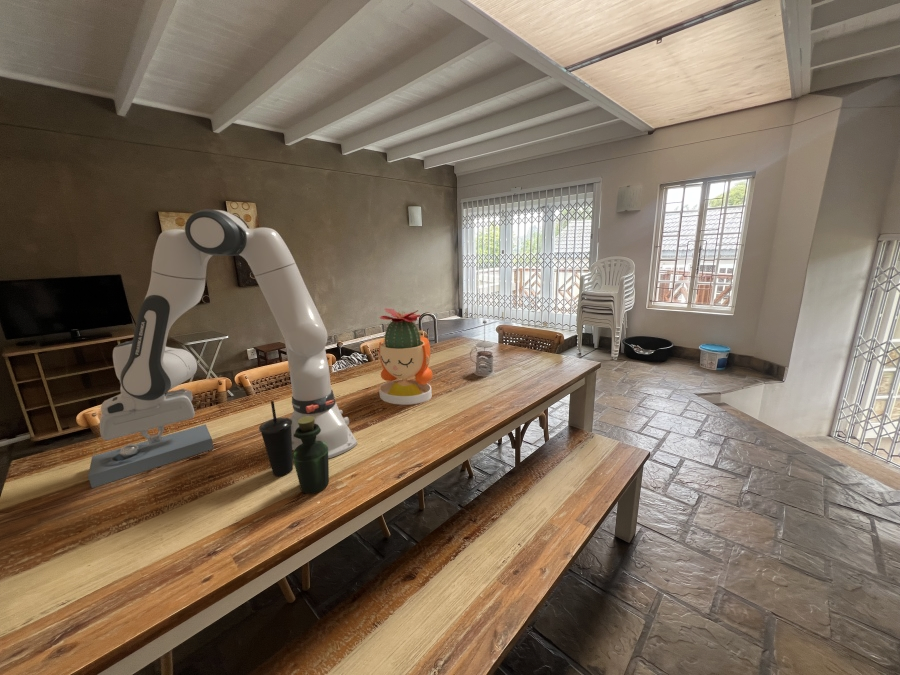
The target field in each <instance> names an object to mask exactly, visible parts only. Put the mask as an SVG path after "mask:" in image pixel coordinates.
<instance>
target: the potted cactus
mask: <svg viewBox="0 0 900 675" xmlns="http://www.w3.org/2000/svg"><path fill="white" fill-rule="evenodd" d="M383 310H384V312H386V313H387V314H390V316H388V315H381V316H379V319H381V320H387V321H389V322H388V323H387V325H386V326H385V329H384V330H383V331H384V332H383V336H384V338H382V341H380V342H379V344H378V345H379V346H378V353H377V357H378V359H379V360H380V364H381V366H382V368H383V369H381V371H380V376H381V379H382V380H384V381H386V382H385V383H382V384H381V385H379V387H378V389H379V390H378V391H379V398H380V399H381V401H384V402H385V403H389V404H393V405H403V406H406V405H418V404H422V403H426V402H428V401H430V400H431V399H432V392H433V391H432V386H431V384H429V383H430V382H431V381H432V379H433V378H434V376H433V375H434V374H433V371H432V370H431V369H430V368H429V364H430V359H431V344H430V341H429V338H427V337H425V336H422V335H421V331H419V330H420V328H419V326H417V325H416V321H418V318H420V317H422V316H421V314H416V313H417V312H419V310H415V311H413V312H409V313H404V311H402V312H398V311H397V310H395V309H392V308H384V309H383ZM413 377H414V378H415V379H410V378H413Z"/></svg>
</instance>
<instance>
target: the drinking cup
mask: <svg viewBox="0 0 900 675" xmlns="http://www.w3.org/2000/svg"><path fill="white" fill-rule="evenodd" d="M270 406H271V412H272V418H271V419H269V420H266V421H264V422H263V423H261V424H260V425H259V428H258V430H259V432H260V433H261V436H262V440H263V443H264V447H265V451H266V454H267V458H268V460H269V464H270V468H271V470H272V472H271V473H272V474H273V476H275V477H283V476H287V475H289V474H290V473H291V472H292V471H293V469H294V461H293V457H292V455H293V450H292V432H291V425H292V420H291V419H289V418H290V417H289V418H288V417H277V414H276V408H275V402H274V400H271V401H270Z"/></svg>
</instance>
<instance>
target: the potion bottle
mask: <svg viewBox="0 0 900 675" xmlns="http://www.w3.org/2000/svg"><path fill="white" fill-rule="evenodd" d="M314 422H315V417H313V416H305V417H302V418H300V419H299V420H298V424H299V427H298V428H297V429H296V431H295V437H296V438H298V439H301V441H302V444H301V445H299V446H298V447H297V448H296V449H295V450H293V452H292V457H293V466H294V467H295V472H296V476H297V479H298V483H299V487H300V490H301V491H302V492H303V493H305V494H309V495H311V494H317V493H319V492H322V491H323V490H325V489H326V487H327V486H328V485H329V482H330V477H329V476H330V472H329V470H330V469H329V468H330V465H329V463H330V462H329V459H328V447H327V445H326V444H325V443H324V442H322V441H317V440H316V435H318V434H319V433H320V432H321V429H320V427H319V425H318V424H315V423H314Z"/></svg>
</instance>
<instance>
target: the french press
mask: <svg viewBox="0 0 900 675" xmlns="http://www.w3.org/2000/svg"><path fill="white" fill-rule="evenodd" d="M487 323H488V322H487V320H482V324H484V326H483V327H484V329H483V330H484V333H483V334H484V336H483V338H484V340H481V341H479V342H477V343H475V346H476V347H473V348H472V349H471V350H470V352H469V358H470V361H471V362H473V363H474V364H475V371H473V372H474V375H476V376H478V377H491V376H494V375H495V374H496V372H495V371H494V355H493V352H492V351H490V350H486V348H493V346H494V344H493V343H492V342H491V341H488V340H486V324H487ZM477 347H478V348H482V349H483V348H484V349H483V350H479V351H477V350H478V349H477ZM474 350H475V351H477V352H476V356H475V357H476V361H474V360H473V359H472V356H471V355H472V353H473V351H474Z"/></svg>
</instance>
